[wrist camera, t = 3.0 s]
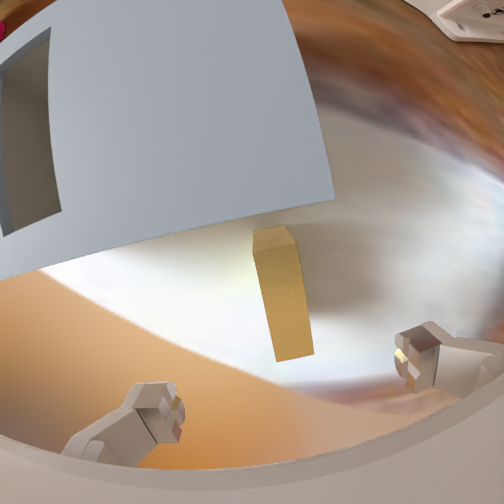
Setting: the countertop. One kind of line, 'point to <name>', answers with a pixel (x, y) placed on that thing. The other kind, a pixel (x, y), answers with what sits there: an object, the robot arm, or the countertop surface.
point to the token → (283, 292)
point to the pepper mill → (2, 30)
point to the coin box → (150, 124)
